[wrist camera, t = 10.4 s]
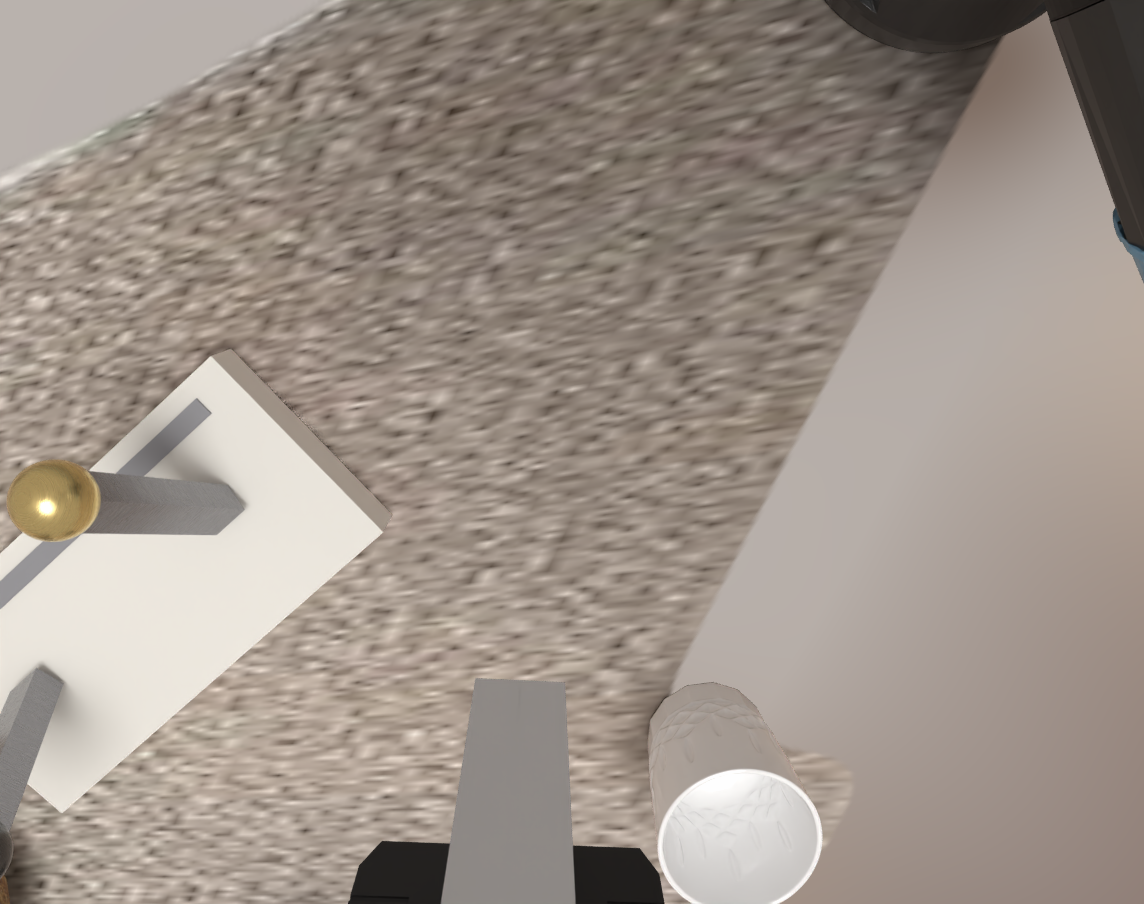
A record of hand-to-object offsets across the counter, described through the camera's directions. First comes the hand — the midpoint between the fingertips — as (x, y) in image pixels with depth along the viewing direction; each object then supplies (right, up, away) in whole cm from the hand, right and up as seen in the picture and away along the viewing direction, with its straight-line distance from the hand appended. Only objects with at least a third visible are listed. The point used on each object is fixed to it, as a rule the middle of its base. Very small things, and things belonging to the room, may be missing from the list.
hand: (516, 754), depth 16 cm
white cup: (+9, -11, +38) cm, 41 cm away
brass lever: (-16, +2, +31) cm, 35 cm away
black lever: (-27, -7, +33) cm, 43 cm away
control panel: (-22, -2, +35) cm, 41 cm away
